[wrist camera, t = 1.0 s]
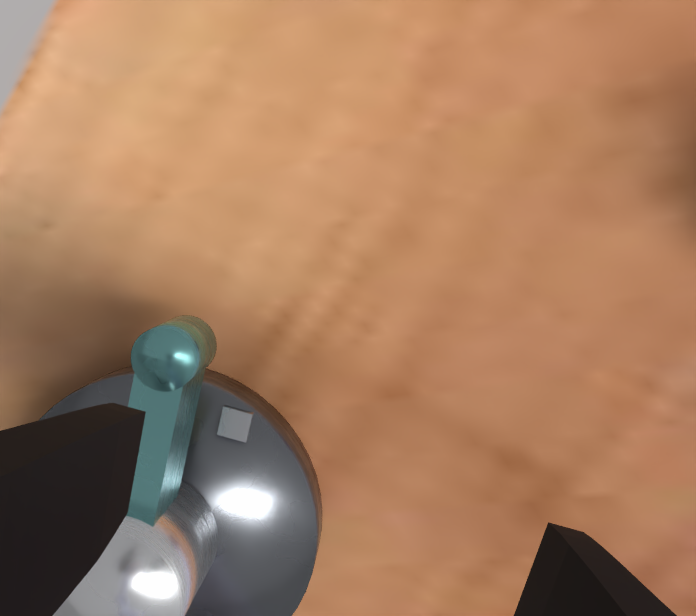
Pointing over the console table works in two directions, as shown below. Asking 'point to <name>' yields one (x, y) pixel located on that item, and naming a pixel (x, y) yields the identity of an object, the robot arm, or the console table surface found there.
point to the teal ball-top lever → (158, 488)
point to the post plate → (240, 494)
